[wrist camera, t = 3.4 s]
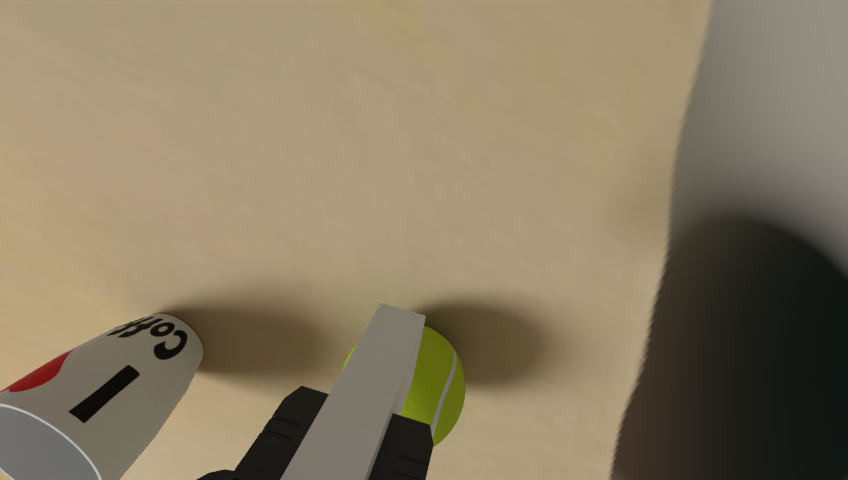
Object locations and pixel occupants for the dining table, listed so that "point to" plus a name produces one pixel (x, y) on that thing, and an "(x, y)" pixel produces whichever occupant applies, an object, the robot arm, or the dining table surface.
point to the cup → (97, 402)
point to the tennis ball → (435, 385)
